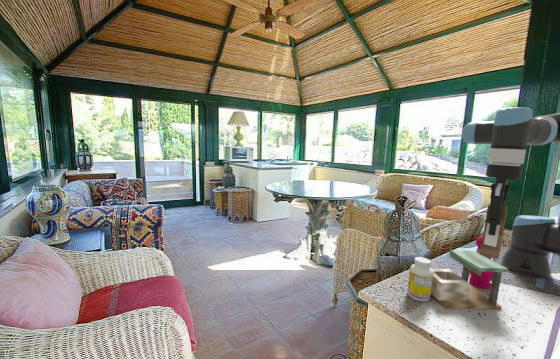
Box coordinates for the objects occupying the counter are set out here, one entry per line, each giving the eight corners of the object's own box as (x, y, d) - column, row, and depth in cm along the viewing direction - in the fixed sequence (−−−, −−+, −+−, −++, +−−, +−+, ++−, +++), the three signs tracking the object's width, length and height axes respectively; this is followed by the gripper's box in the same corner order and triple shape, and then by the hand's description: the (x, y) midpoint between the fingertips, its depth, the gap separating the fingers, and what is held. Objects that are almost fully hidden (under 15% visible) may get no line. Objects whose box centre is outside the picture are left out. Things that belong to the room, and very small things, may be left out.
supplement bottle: (409, 288, 88) (414, 253, 86) (431, 296, 84) (436, 259, 82) (404, 296, 83) (409, 259, 81) (427, 305, 79) (433, 266, 77)
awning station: (467, 284, 93) (473, 250, 91) (502, 309, 79) (509, 269, 77) (417, 283, 92) (421, 248, 90) (443, 308, 78) (449, 268, 76)
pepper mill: (497, 291, 89) (506, 237, 86) (473, 288, 90) (482, 234, 87) (484, 281, 96) (493, 230, 93) (463, 278, 97) (471, 228, 94)
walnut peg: (482, 251, 78) (490, 203, 76) (499, 255, 75) (507, 206, 73) (479, 254, 75) (487, 205, 73) (497, 259, 72) (506, 208, 70)
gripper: (491, 162, 80) (480, 233, 83) (483, 163, 68) (469, 246, 71) (524, 164, 74) (510, 240, 78) (521, 166, 63) (505, 255, 66)
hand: (491, 243), depth 74 cm, fingers closed on walnut peg, 4 cm apart
